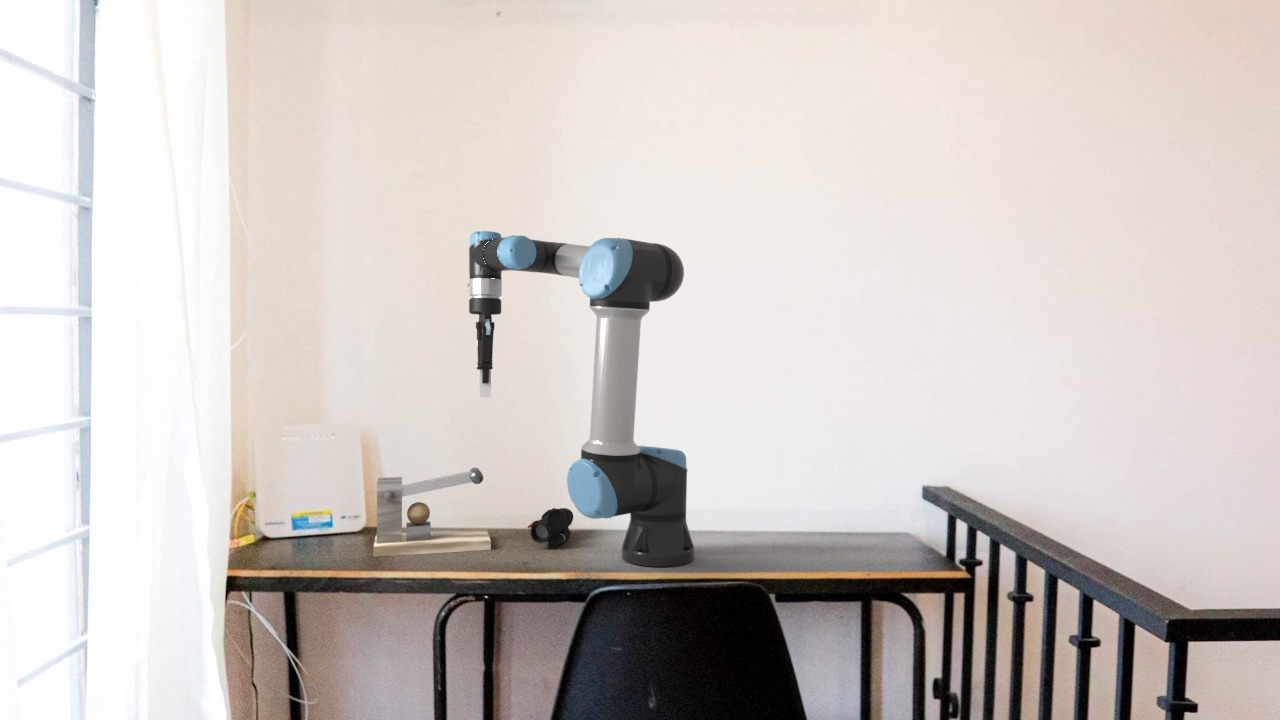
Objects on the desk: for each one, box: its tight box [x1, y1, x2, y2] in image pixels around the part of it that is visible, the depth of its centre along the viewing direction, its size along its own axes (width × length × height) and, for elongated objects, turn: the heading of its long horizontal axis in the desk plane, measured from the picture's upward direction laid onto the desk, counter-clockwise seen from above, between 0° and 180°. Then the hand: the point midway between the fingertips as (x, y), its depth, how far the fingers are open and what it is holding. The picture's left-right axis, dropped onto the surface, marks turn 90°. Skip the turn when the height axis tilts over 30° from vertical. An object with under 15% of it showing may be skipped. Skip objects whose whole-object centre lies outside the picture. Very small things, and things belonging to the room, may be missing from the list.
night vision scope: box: [527, 507, 574, 550], centre depth 180 cm, size 8×18×10 cm
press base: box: [372, 476, 492, 558], centre depth 175 cm, size 12×24×15 cm, turn 106°
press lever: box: [402, 467, 484, 498], centre depth 175 cm, size 7×21×3 cm, turn 106°
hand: (484, 396), depth 191 cm, fingers closed
